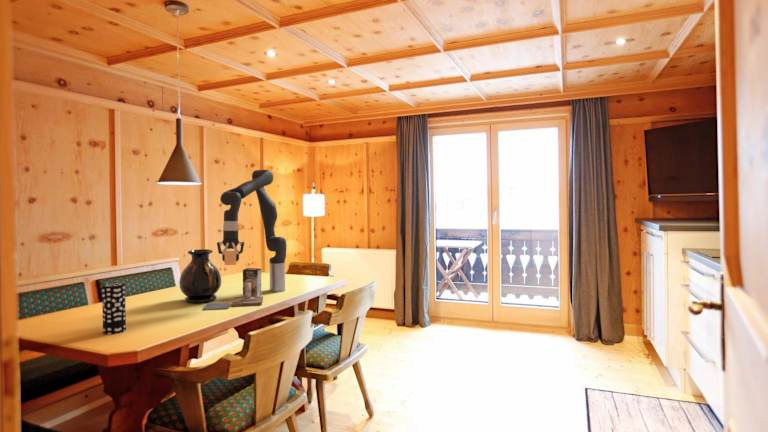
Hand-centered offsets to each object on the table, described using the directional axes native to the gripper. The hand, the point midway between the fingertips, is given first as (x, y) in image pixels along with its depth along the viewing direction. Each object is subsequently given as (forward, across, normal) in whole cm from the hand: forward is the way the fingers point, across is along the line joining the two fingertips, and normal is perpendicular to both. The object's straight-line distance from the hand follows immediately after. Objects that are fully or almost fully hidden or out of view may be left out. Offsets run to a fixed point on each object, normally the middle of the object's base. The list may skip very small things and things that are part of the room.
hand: (230, 261), depth 232 cm
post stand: (+23, -9, -4) cm, 25 cm away
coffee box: (+23, -10, -20) cm, 32 cm away
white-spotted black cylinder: (+25, +43, +37) cm, 62 cm away
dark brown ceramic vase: (+24, +17, -16) cm, 33 cm away
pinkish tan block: (+1, 0, 0) cm, 1 cm away
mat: (+23, +6, +2) cm, 24 cm away
